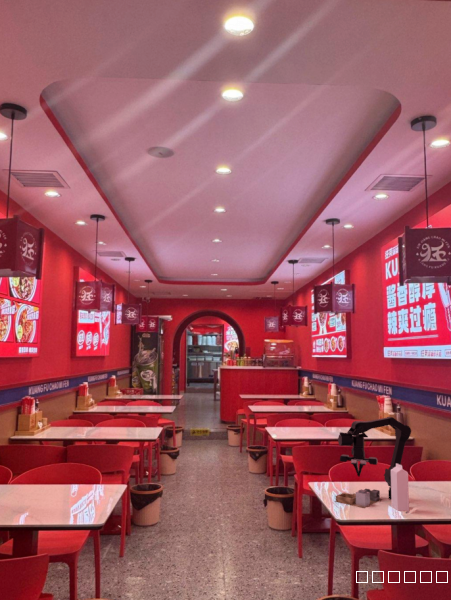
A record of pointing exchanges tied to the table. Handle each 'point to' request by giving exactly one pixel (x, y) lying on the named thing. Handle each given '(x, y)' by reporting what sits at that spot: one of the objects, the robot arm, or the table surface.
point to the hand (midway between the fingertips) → (358, 476)
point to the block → (363, 498)
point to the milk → (399, 489)
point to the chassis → (351, 498)
